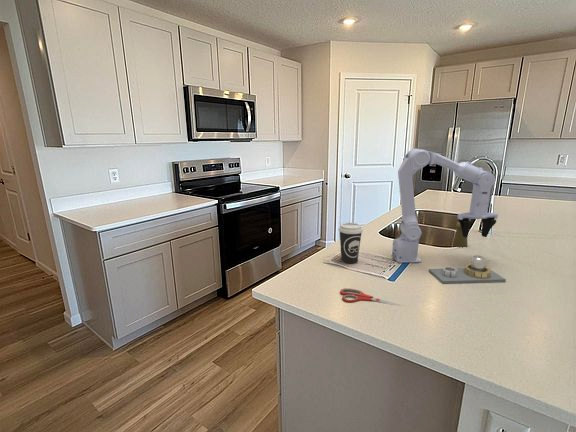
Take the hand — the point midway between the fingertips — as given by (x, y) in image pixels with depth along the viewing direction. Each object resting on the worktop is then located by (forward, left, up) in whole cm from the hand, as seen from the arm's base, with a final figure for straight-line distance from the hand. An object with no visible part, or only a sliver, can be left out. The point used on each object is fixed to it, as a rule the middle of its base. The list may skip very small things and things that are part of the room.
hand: (474, 236), depth 121 cm
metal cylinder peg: (-6, -13, -9) cm, 17 cm away
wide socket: (-6, -13, -10) cm, 18 cm away
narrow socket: (-16, -13, -10) cm, 23 cm away
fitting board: (-10, -13, -10) cm, 19 cm away
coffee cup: (-48, +4, -11) cm, 49 cm away
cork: (+6, +18, -11) cm, 22 cm away
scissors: (-47, -26, -11) cm, 55 cm away
